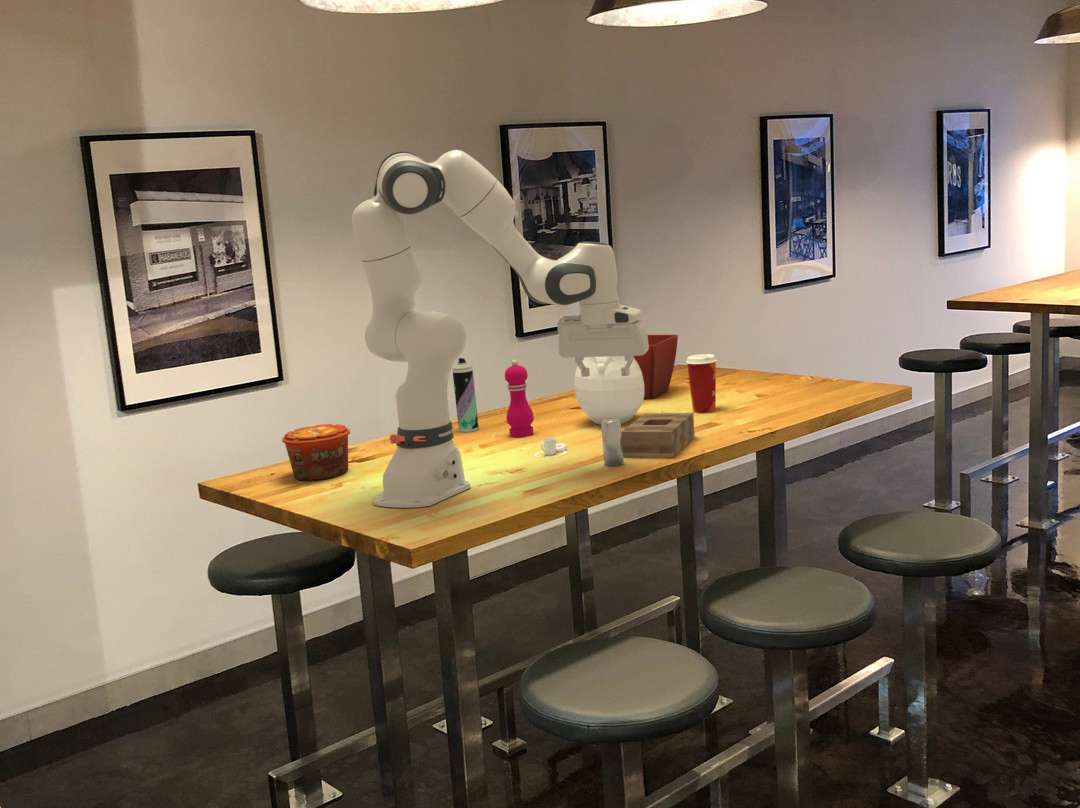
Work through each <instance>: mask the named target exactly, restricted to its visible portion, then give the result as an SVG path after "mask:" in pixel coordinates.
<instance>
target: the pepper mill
mask: <svg viewBox="0 0 1080 808" xmlns="http://www.w3.org/2000/svg"><path fill="white" fill-rule="evenodd" d="M528 375H529V374H528V370H527V368H525V367H524V366H523V365H519V361H518V360H517V359H512V360H511V365H510V366H509V367H507V368H506V369H505V372H504V380H505V381H506V382H507V383H508V384H507V391H509V395H510V403H509V407H508V409H507V412H506V422H507V424H508V425H509V426H510V428H509V436H510V437H512V438H525V437H529V436H531V435H532V436H533V435H534V427H533V426H532V424H533V422H534V420H535V416H534V415H535V414H534V412H533V410H532V408H531V406H530V404H529V402H528V400H527V396H526V391H527V388H528V386H527V382H526V381H527V379H528V377H529V376H528Z"/></svg>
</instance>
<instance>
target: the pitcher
mask: <svg viewBox="0 0 1080 808" xmlns="http://www.w3.org/2000/svg"><path fill="white" fill-rule="evenodd" d="M582 362H583V363H584V365H585V367H586V368H589V370H590V371H589V372H590V376H588V377H582V376H581V369H580V368H579V367H578V365H577V364H576V365H577V366H576V370H575V372H574V381H573V383H574V384H573V386H574V394H575V398H576V400H577V402H578V405H579V407H580V408H581V409H582V411H583V412H584V413H585V414H586V416H588V418H590V420H592V422H593V423H594V424H596V425H598V426H601V421H602V420H606V419H620V420H621V425H622V424H625V423H628V422H629V421H630V420H631V419H632V418H633V417H634V416H635V415H636V414H637V412H638V411H639V409H640V408H641V406H642V405H643V402H644V399H643V398H644V381H643V376H642V372H641V369H640V367H639V365H638V363H637V361H636V360H635V359H633V361H632V363H631V366H630V367H629V368H630V375H629V376H622V375H621V373H622V372H621V368H622V367H625V365H626V363H627V361H625V356H607V357H584V360H583V361H582Z"/></svg>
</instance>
